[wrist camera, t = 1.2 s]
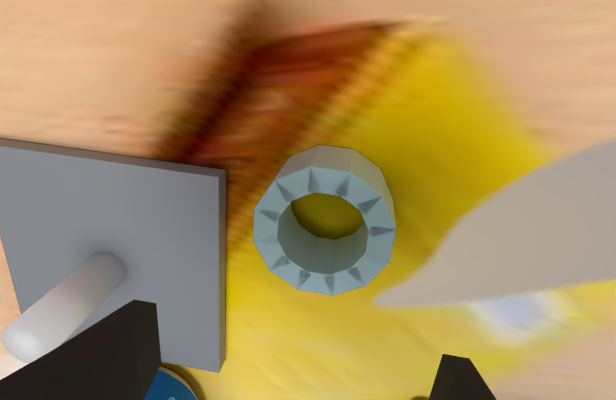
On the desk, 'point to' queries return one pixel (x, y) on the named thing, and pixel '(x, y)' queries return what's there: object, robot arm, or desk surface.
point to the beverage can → (169, 387)
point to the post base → (113, 248)
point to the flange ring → (316, 250)
